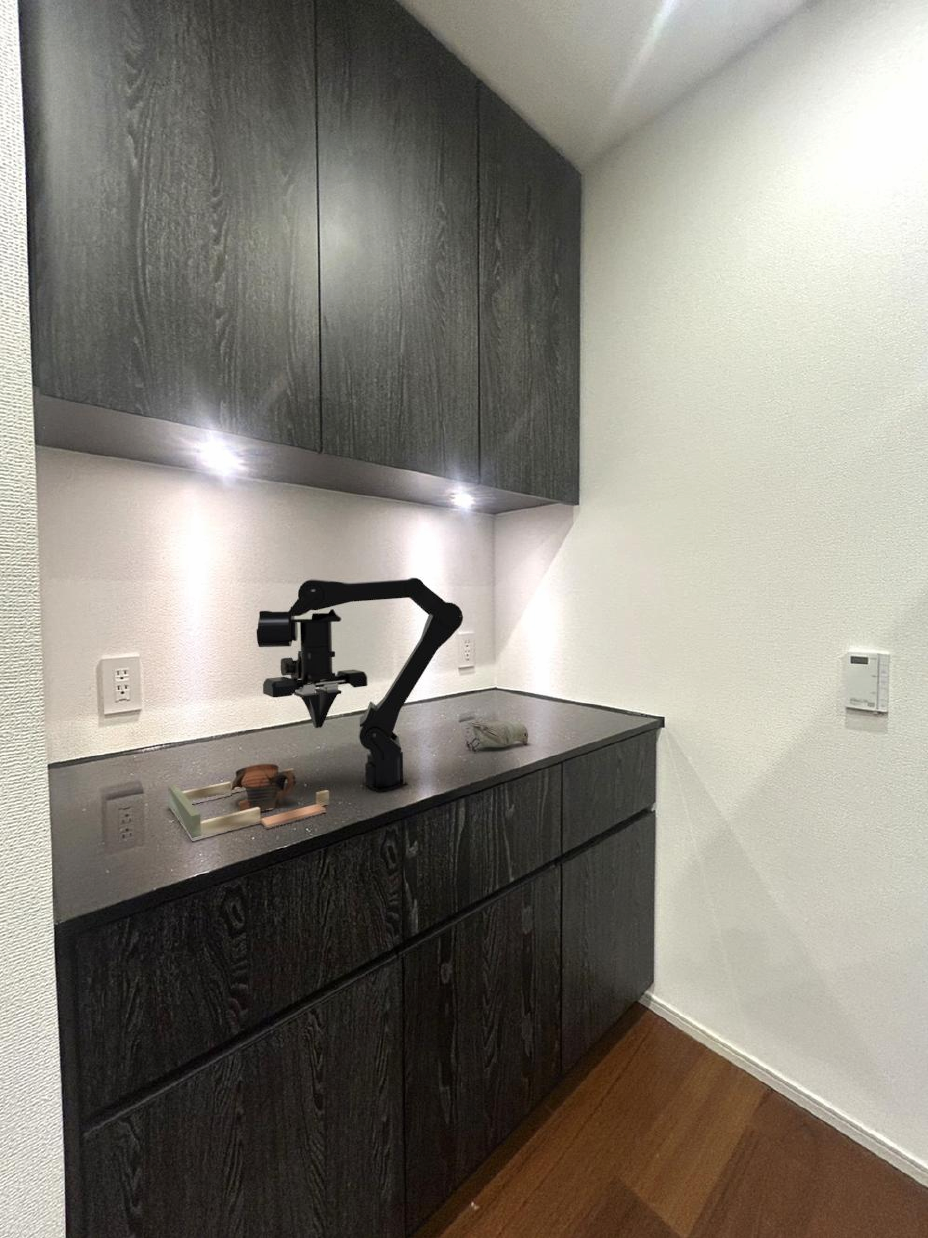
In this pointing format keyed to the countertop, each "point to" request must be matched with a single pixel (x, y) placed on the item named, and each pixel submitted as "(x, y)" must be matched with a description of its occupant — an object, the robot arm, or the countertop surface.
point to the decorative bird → (498, 733)
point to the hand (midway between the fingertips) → (318, 727)
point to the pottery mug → (263, 785)
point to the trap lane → (197, 828)
